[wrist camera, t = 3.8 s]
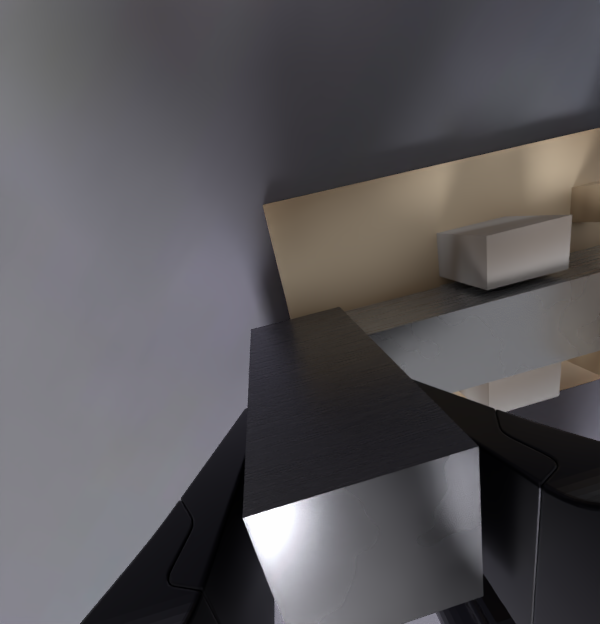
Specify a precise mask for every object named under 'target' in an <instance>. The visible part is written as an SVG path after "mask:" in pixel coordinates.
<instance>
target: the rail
mask: <svg viewBox="0 0 600 624" xmlns="http://www.w3.org/2000/svg"><path fill="white" fill-rule="evenodd" d="M263 209H264V213H265V217H266V221H267V225H268V230H269V234H270V238H271V242H272V246H273V250H274V254H275V258H276V262H277V266H278V270H279V274H280V278H281V282H282V286H283V290H284V295H285V299H286V303H287V307H288V311H289V315H290V319H294V318H298V317H302V316H305V315H309V314H313V313H317V312H321V311H325V310H329V309H332V308H336V307H340V308H341V309H342V310H343V311H344V312H345V311H349V310H353V309H357V308H360V307H364V306H368V305H372V304H376V303H380V302H383V301H387V300H391V299H395V298H399V297H403V296H406V295H410V294H414V293H418V292H422V291H426V290H430V289H433V288H437V287H441V286H445V285H449V284H453V283H456V282H461V283H464V284H468V285H471V286H474V287H478V288H481V289H485V290H490V289H494V288H498V287H502V286H505V285H509V284H513V283H517V282H520V281H524V280H528V279H532V278H536V277H539V276H543V275H547V274H551V273H555V272H558V271H562V270H566V269H568V266H569V253H572V252H576V251H579V250H583V249H587V248H591V247H595V246H599V245H600V128H596V129H592V130H587V131H583V132H579V133H574V134H570V135H565V136H561V137H557V138H552V139H548V140H544V141H539V142H535V143H531V144H526V145H522V146H517V147H513V148H509V149H504V150H500V151H496V152H491V153H487V154H483V155H478V156H474V157H469V158H465V159H461V160H456V161H452V162H448V163H443V164H439V165H434V166H430V167H426V168H421V169H417V170H413V171H408V172H404V173H400V174H395V175H391V176H386V177H382V178H378V179H373V180H369V181H365V182H360V183H356V184H352V185H347V186H343V187H338V188H334V189H330V190H325V191H321V192H317V193H312V194H308V195H304V196H299V197H295V198H290V199H286V200H282V201H277V202H273V203H269V204H264V205H263ZM598 379H600V351H596V352H593V353H589V354H586V355H582V356H579V357H575V358H572V359H569V360H565V361H562V362H558V363H555V364H551V365H548V366H544V367H541V368H537V369H534V370H530V371H527V372H523V373H520V374H516V375H513V376H510V377H506V378H503V379H499V380H496V381H492V382H489V383H485V384H482V385H478V386H475V387H471V388H468V389H464V390H461V391H457V392H454V393H453V394H455V395H458V396H461V397H464V398H467V399H470V400H472V401H475V402H478V403H481V404H484V405H486V406H489V407H492V408H494V409H495V411H496V410H497V409H498V410H501V411H504V412H507V411H510V410H514V409H517V408H520V407H524V406H527V405H530V404H534V403H537V402H541V401H544V400H547V399H551V398H554V397H557V396H559V391H561V390H565V389H568V388H571V387H575V386H578V385H581V384H585V383H588V382H592V381H595V380H598Z"/></svg>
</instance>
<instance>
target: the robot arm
mask: <svg viewBox="0 0 600 624" xmlns="http://www.w3.org/2000/svg"><path fill="white" fill-rule="evenodd" d="M412 380H413V379H412ZM413 381H414V382H415V383H416V384H417V385H418V386H419V387H420V388H421V389H422V390H423V391H424V392H425V393H426V394H427V395H428V396H429V397H430V398H431V399H432V400H433V401H434V402H435V403H436V404H437V405H438V406H439V407H440V408H441V409H442V410H443V411H444V412H445V413H446V414H447V415H448V416H449V417H450V418H451V419H452V420H453V421H454V422H455V423H456V424H457V425H458V426H459V427H460V428H461V429H462V430H463V431H464V432H465V433H466V434H467V435H468V436H469V437H470V438H471V439H472V440H473V441H474V442H475V443H476V444H477V445H478V446H479V470H480V502H481V534H482V566H483V596H482V597H480V598H477V599H474V600H471V601H468V602H465V603H462V604H459V605H456V606H453V607H450V608H447V609H445V610H442V611H439V612H436V614H437V616H438V619H439V621H440V623H441V624H600V441H597V440H593V439H590V438H586V437H583V436H579V435H576V434H572V433H569V432H566V431H562V430H559V429H556V428H552V427H549V426H546V425H542V424H539V423H536V422H533V421H530V420H527V419H524V418H521V417H518V416H515V415H512V414H509V413H506V412H504V411H501V410H498V409H497V410H496V411H495V409H494V408H492V407H489V406H486V405H484V404H481V403H478V402H475V401H472V400H470V399H467V398H464V397H461V396H458V395H455V394H453V393H450V392H447V391H444V390H441V389H439V388H436V387H433V386H430V385H427V384H424V383H422V382H419V381H416V380H413ZM247 410H248V408H246V409H245V410H244V411H243V413H242V414H241V415H240V417H239V418H238V420H237V421H236V422H235V424H234V425H233V426H232V428H231V429H230V431H229V432H228V433H227V435H226V436H225V438H224V439H223V440H222V442H221V443H220V444H219V446H218V447H217V449H216V450H215V451H214V453H213V454H212V456H211V457H210V458H209V460H208V461H207V463H206V464H205V465H204V467H203V468H202V469H201V471H200V472H199V474H198V475H197V476H196V478H195V479H194V481H193V482H192V483H191V485H190V486H189V488H188V489H187V490H186V492H185V493H184V494H183V496H182V497H181V501H178V503H177V504H176V505H175V507H174V508H173V510H172V511H171V512H170V514H169V515H168V516H167V518H166V519H165V520H164V522H163V523H162V524H161V526H160V527H159V528H158V530H157V531H156V532H155V534H154V535H153V536H152V538H151V539H150V540H149V541H148V542H147V544H146V545H145V546H144V547H143V549H142V550H141V551H140V552H139V554H138V555H137V556H136V557H135V559H134V560H133V561H132V562H131V563H130V565H129V566H128V567H127V568H126V569H125V571H124V572H123V573H122V574H121V575H120V577H119V578H118V579H117V580H116V581H115V583H114V584H113V585H112V586H111V587H110V589H109V590H108V591H107V592H106V593H105V595H104V596H103V597H102V598H101V599H100V600H99V602H98V603H97V604H96V605H95V606H94V608H93V609H92V610H91V611H90V612H89V614H88V615H87V616H86V617H85V618H84V620H83V621H82V622H81V623H80V624H274V597H273V594H272V592H271V589H270V587H269V584H268V582H267V579H266V576H265V574H264V571H263V569H262V566H261V564H260V561H259V559H258V556H257V554H256V551H255V548H254V546H253V543H252V541H251V538H250V536H249V533H248V531H247V528H246V526H245V523H244V521H243V498H244V476H245V454H246V432H247Z"/></svg>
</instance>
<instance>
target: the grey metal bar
mask: <svg viewBox="0 0 600 624" xmlns="http://www.w3.org/2000/svg"><path fill="white" fill-rule="evenodd" d="M596 351H600V245H599V246H595V247H591V248H587V249H583V250H579V251H576V252H572V253H569V266H568V269H566V270H562V271H558V272H555V273H551V274H547V275H543V276H539V277H536V278H532V279H528V280H524V281H520V282H517V283H513V284H509V285H505V286H502V287H498V288H494V289H490V290H485V289H481V288H478V287H474V286H471V285H468V284H464V283H461V282H456V283H453V284H449V285H445V286H441V287H437V288H433V289H430V290H426V291H422V292H418V293H414V294H410V295H406V296H403V297H399V298H395V299H391V300H387V301H383V302H380V303H376V304H372V305H368V306H364V307H360V308H357V309H353V310H349V311H345V312H344V311H343V310H342V309H341V308H340V307H336V308H332V309H329V310H325V311H321V312H317V313H313V314H309V315H305V316H302V317H298V318H294V319H290V320H286V321H282V322H278V323H274V324H271V325H267V326H263V327H259V328H255V329H251V345H250V367H249V388H248V410H247V432H246V454H245V476H244V498H243V521H244V523H245V526H246V528H247V531H248V533H249V536H250V538H251V541H252V543H253V546H254V548H255V551H256V554H257V556H258V559H259V561H260V564H261V566H262V569H263V571H264V574H265V576H266V579H267V582H268V584H269V587H270V589H271V592H272V594H273V597H274V599H275V602H276V604H277V607H278V610H279V612H280V615H281V617H282V620H283V622H284V624H404V623H407V622H409V621H412V620H415V619H418V618H421V617H424V616H427V615H430V614H433V613H436V612H439V611H442V610H445V609H447V608H450V607H453V606H456V605H459V604H462V603H465V602H468V601H471V600H474V599H477V598H480V597H482V596H483V566H482V534H481V502H480V470H479V446H478V445H477V444H476V443H475V442H474V441H473V440H472V439H471V438H470V437H469V436H468V435H467V434H466V433H465V432H464V431H463V430H462V429H461V428H460V427H459V426H458V425H457V424H456V423H455V422H454V421H453V420H452V419H451V418H450V417H449V416H448V415H447V414H446V413H445V412H444V411H443V410H442V409H441V408H440V407H439V406H438V405H437V404H436V403H435V402H434V401H433V400H432V399H431V398H430V397H429V396H428V395H427V394H426V393H425V392H424V391H423V390H422V389H421V388H420V387H419V386H418V385H417V384H416V383H415V382H414V381H413V380H416V381H419V382H422V383H424V384H427V385H430V386H433V387H436V388H439V389H441V390H444V391H447V392H450V393H454V392H457V391H461V390H464V389H468V388H471V387H475V386H478V385H482V384H485V383H489V382H492V381H496V380H499V379H503V378H506V377H510V376H513V375H516V374H520V373H523V372H527V371H530V370H534V369H537V368H541V367H544V366H548V365H551V364H555V363H558V362H562V361H565V360H569V359H572V358H575V357H579V356H582V355H586V354H589V353H593V352H596ZM412 379H413V380H412Z"/></svg>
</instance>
